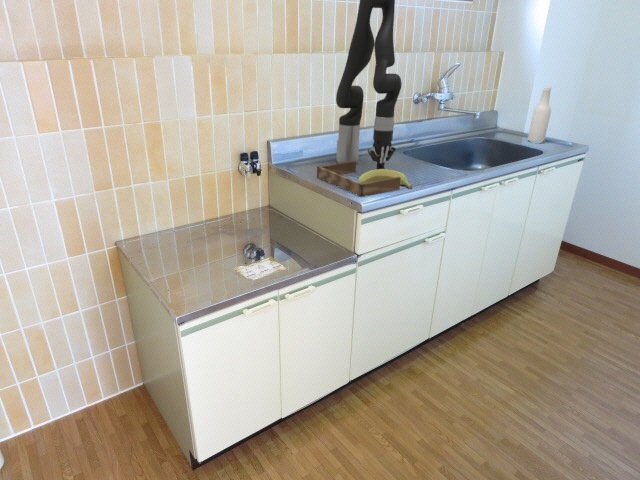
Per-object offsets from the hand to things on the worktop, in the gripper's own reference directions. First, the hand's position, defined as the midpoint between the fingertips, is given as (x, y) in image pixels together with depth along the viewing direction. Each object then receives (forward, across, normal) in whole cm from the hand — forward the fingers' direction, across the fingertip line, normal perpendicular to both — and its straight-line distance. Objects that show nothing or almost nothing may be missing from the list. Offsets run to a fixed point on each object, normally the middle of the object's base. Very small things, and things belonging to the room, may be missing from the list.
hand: (380, 171), depth 184 cm
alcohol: (+3, -128, -16) cm, 129 cm away
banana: (+3, +3, +8) cm, 9 cm away
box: (+3, +12, 0) cm, 12 cm away
